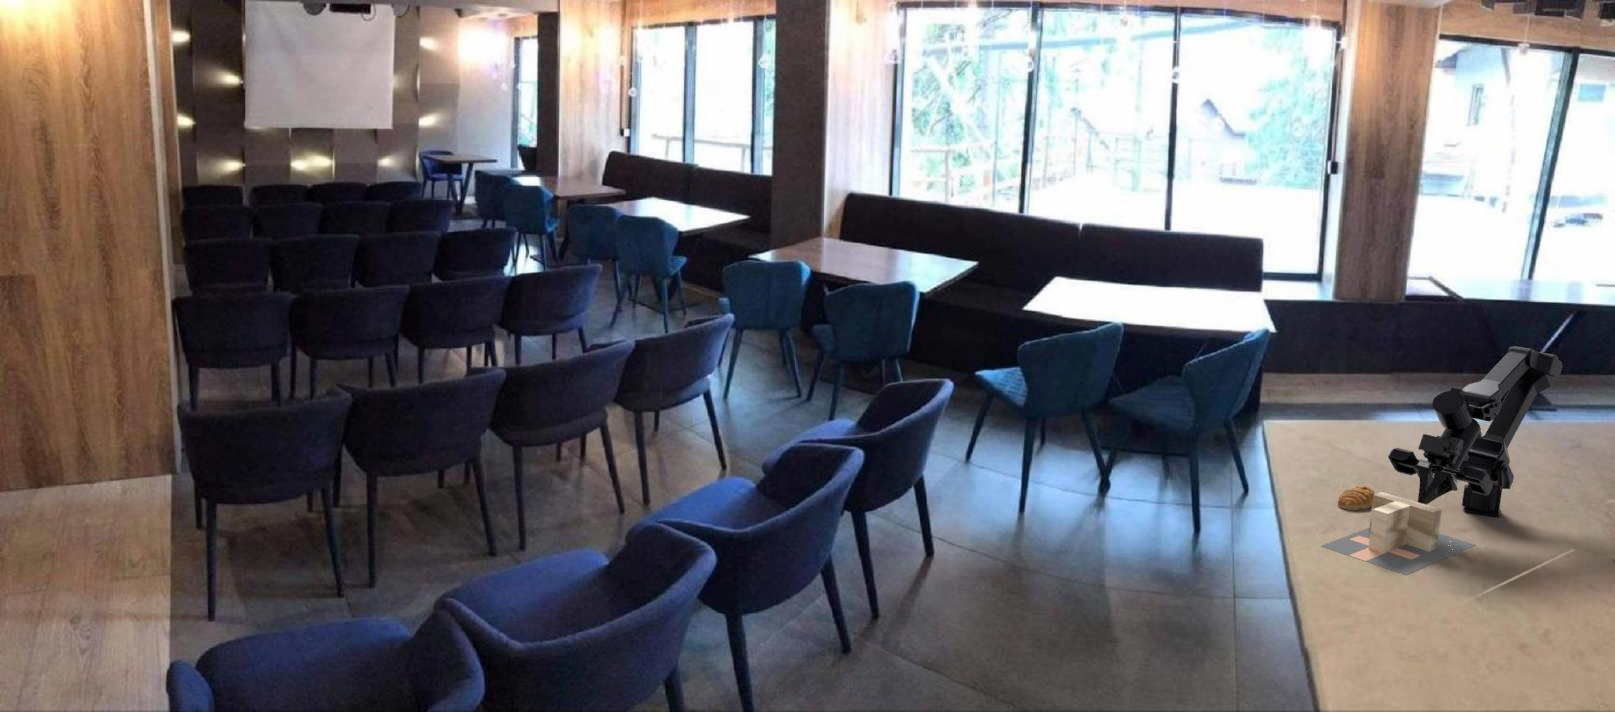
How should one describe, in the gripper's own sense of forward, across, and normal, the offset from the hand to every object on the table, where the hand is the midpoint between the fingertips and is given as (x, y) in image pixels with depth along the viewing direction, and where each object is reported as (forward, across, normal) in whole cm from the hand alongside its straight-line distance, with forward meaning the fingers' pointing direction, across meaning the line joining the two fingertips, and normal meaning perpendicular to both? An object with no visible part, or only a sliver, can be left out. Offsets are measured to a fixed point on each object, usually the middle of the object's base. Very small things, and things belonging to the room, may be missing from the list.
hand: (1420, 505), depth 231 cm
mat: (+11, +1, -1) cm, 11 cm away
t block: (+11, 0, -2) cm, 11 cm away
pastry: (0, -17, +10) cm, 20 cm away
